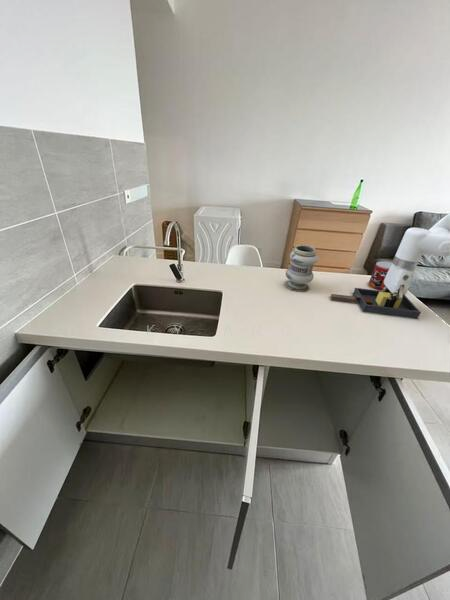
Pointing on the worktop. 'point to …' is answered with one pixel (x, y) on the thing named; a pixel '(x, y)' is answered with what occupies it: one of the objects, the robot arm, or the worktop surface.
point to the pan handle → (345, 298)
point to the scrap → (368, 301)
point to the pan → (403, 310)
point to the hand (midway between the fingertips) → (385, 303)
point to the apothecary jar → (301, 267)
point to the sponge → (383, 297)
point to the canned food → (379, 275)
